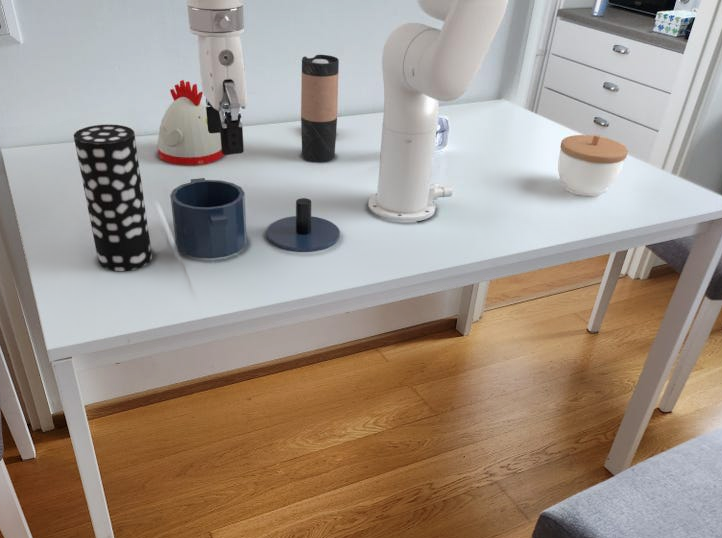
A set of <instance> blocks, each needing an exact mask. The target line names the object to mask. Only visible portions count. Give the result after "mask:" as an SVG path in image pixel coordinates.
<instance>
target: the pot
mask: <svg viewBox="0 0 722 538" xmlns="http://www.w3.org/2000/svg"><path fill="white" fill-rule="evenodd" d="M169 197H170V205H171V213H172V221H173V223H172V224H173V230H174V231H173V232H174V239H175V244H176V250H177V251H178V252H181V253H183V254H184V255H186V256H190V257H194V258H198V259H218V258H225V257H229V256H232V255H234V254H238V253H239V252H240V251H241V250H243V249H244V248H245V247H246V245H247V241H248V237H247V236H248V235H247V215H246V214H247V213H246V194H245V191H244V189H243V188H242V187H241V186H239V185H238V184H235V183H233V182H230V181H226V180H220V179H219V180H217V179H206V178H205V177H200V178H191V179H190V181H189V182H186V183H183V184H180V185H179V186H177V187H175V188H174V189H172V191H171V193H170V195H169Z"/></svg>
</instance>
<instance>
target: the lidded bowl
mask: <svg viewBox="0 0 722 538" xmlns="http://www.w3.org/2000/svg"><path fill="white" fill-rule="evenodd" d="M628 152H629V149H628V148H627V146H625V144H623V143H621V142H619V141H617V140H615V139H611V138H608V137H604V136H601V135H600V134H593V135H592V134H591V135H590V134H575V135H570V136H566V137H564V138H563V139H562V140H561V141H560V149H559V154H558V160H557V173H558V176H559V179H560V182H561V183H562V184H563V186H564V189H565V190H566V191H567V192H569V193H570V194H572V195H576V196H580V197H597V196H599V195H601V193H603V192H604V191H606V190H607V189H609V188H610V187H611V186H612V185H613V184H614V183H615V182H616V181H617V179H618V177H619V175H620V173H621V171H622V169H623V166H624V164H625V161H626V158H627V156H628Z"/></svg>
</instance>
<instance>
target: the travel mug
mask: <svg viewBox="0 0 722 538" xmlns="http://www.w3.org/2000/svg"><path fill="white" fill-rule="evenodd" d="M339 64H340V60H339V58H338V57H336V56H333V55H329V54H316V55H315V56H313V57H307V55H304V56H303V57H302V58H301V83H300V84H301V90H300V92H301V94H300V97H301V98H300V130H301V133H300V134H301V156H302V159H303V160H306V161H308V162H313V163H327V162H331V161H333V160H334V159H335V155H336V142H337V141H336V140H337V125H338V103H339V101H338V100H339V71H340V70H339V69H340V67H339V66H340V65H339Z"/></svg>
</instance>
